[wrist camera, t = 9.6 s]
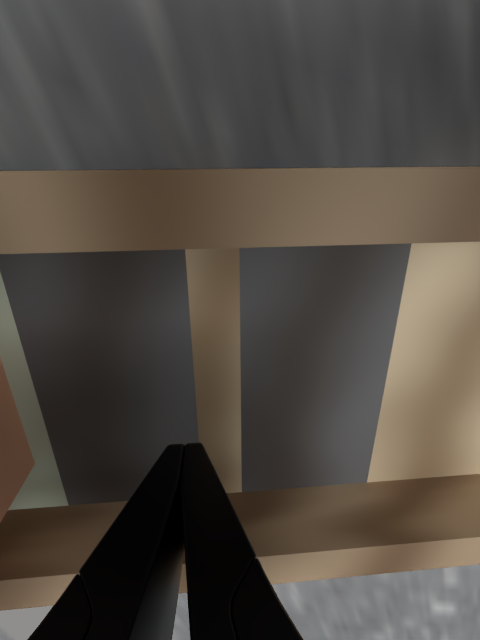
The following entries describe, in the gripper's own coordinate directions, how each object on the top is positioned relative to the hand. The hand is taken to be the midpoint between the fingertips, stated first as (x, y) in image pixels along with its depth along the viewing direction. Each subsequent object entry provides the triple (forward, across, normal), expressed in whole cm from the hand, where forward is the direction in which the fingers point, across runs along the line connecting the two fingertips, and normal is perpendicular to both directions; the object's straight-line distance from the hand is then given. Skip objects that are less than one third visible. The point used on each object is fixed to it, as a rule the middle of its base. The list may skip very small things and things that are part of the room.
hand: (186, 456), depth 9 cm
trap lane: (+4, 0, 0) cm, 4 cm away
